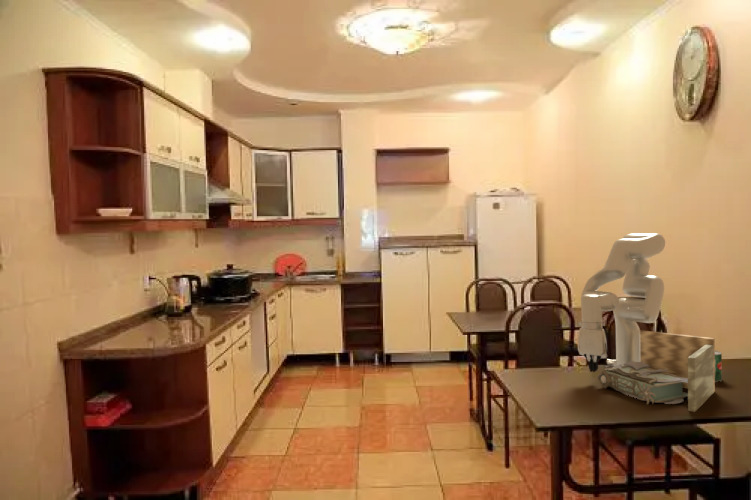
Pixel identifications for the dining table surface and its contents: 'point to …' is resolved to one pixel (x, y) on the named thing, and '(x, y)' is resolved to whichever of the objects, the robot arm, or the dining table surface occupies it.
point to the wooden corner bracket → (682, 361)
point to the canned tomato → (718, 366)
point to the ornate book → (644, 382)
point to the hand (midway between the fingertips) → (593, 370)
